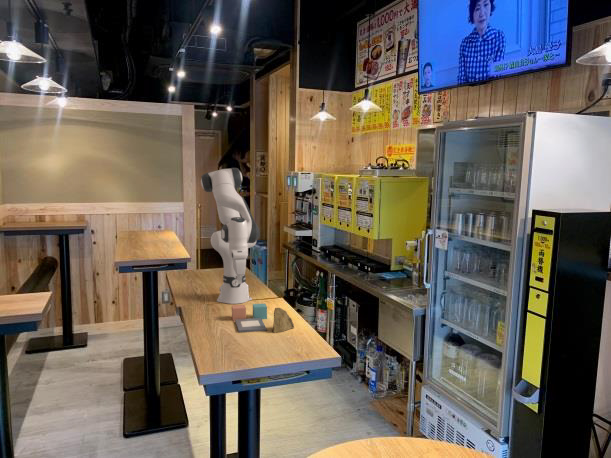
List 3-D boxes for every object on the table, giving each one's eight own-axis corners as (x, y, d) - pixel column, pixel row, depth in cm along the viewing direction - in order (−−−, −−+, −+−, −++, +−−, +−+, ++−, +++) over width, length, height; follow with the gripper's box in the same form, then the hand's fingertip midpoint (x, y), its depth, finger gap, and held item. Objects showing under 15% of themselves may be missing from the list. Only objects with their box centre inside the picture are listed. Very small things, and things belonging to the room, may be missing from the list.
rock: (294, 319, 209) (272, 317, 208) (297, 308, 204) (274, 305, 202) (293, 340, 201) (270, 337, 200) (296, 329, 196) (273, 326, 194)
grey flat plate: (235, 321, 213) (235, 319, 213) (261, 319, 216) (261, 317, 216) (238, 332, 198) (238, 330, 198) (266, 330, 201) (266, 328, 201)
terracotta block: (231, 317, 220) (231, 305, 219) (244, 316, 221) (244, 304, 221) (233, 321, 214) (232, 308, 213) (245, 320, 216) (245, 307, 215)
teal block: (252, 316, 222) (252, 304, 222) (265, 315, 224) (265, 303, 223) (254, 319, 217) (254, 307, 216) (267, 319, 218) (267, 306, 217)
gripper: (229, 249, 224) (230, 277, 225) (233, 255, 204) (233, 286, 205) (242, 249, 225) (243, 276, 226) (247, 255, 205) (248, 285, 207)
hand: (238, 281), depth 216 cm, fingers open, 8 cm apart
